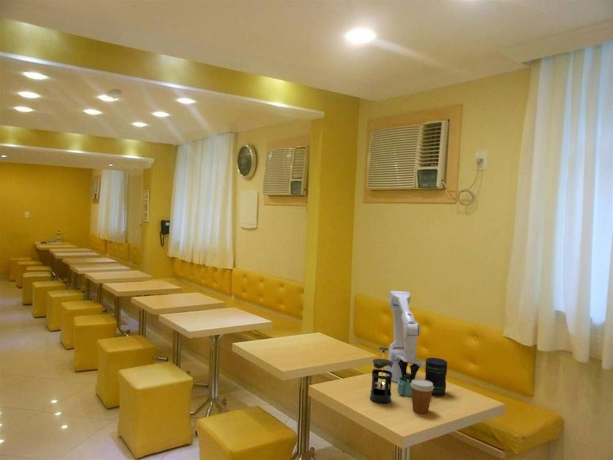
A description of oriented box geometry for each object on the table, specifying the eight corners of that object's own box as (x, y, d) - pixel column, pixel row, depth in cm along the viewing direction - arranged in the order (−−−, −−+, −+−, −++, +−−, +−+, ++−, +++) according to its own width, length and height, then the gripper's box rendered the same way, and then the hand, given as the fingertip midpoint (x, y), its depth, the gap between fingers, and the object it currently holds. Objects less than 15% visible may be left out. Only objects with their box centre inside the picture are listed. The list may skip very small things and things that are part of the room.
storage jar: (443, 389, 219) (445, 358, 219) (447, 397, 209) (449, 365, 209) (422, 387, 220) (424, 356, 220) (425, 395, 210) (427, 363, 210)
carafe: (392, 392, 211) (392, 379, 211) (404, 387, 218) (405, 375, 218) (407, 398, 205) (408, 385, 205) (420, 393, 212) (421, 380, 212)
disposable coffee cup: (415, 404, 199) (416, 376, 199) (435, 411, 193) (437, 383, 193) (404, 410, 192) (406, 382, 192) (426, 417, 186) (428, 388, 186)
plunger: (397, 390, 213) (398, 373, 212) (405, 387, 217) (406, 371, 217) (409, 395, 208) (410, 377, 208) (417, 391, 212) (418, 374, 212)
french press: (396, 403, 199) (399, 350, 198) (377, 405, 196) (380, 352, 195) (382, 393, 210) (385, 343, 209) (364, 395, 206) (367, 344, 206)
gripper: (392, 346, 214) (390, 375, 215) (419, 354, 204) (417, 385, 204) (400, 344, 219) (398, 372, 220) (427, 352, 209) (425, 381, 209)
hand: (408, 378), depth 212 cm, fingers open, 4 cm apart
